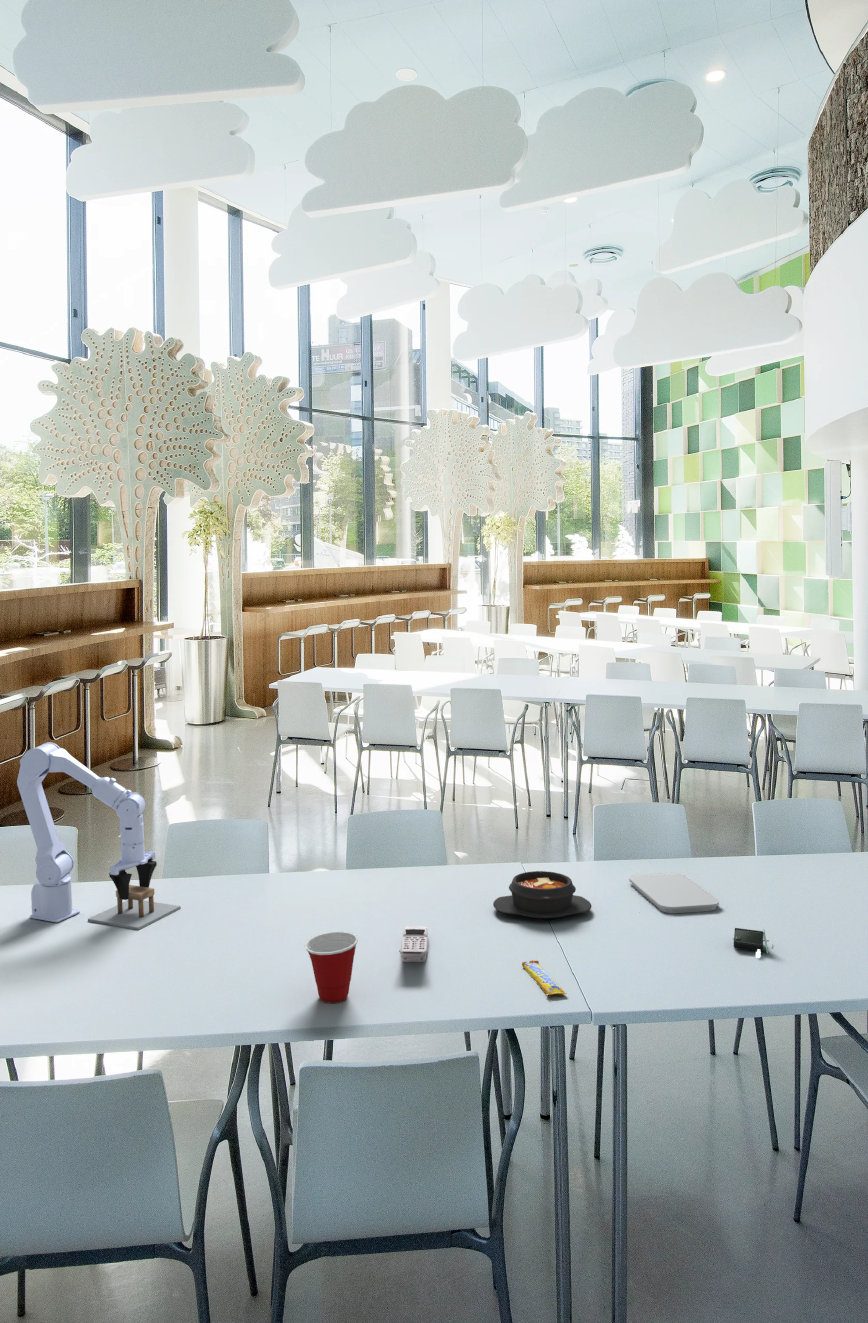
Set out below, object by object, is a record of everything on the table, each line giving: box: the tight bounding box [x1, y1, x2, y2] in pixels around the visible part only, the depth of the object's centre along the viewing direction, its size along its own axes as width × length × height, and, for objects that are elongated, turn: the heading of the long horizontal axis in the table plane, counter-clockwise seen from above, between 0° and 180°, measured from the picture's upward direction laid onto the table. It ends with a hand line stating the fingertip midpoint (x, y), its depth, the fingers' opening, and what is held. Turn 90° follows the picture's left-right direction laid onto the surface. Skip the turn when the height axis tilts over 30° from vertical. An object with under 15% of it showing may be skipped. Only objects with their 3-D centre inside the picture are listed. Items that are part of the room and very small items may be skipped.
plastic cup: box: [304, 931, 359, 1004], centre depth 187 cm, size 11×11×12 cm
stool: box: [115, 884, 155, 918], centre depth 235 cm, size 5×8×6 cm, turn 66°
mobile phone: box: [398, 926, 429, 963], centre depth 209 cm, size 6×6×25 cm
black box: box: [733, 927, 774, 959], centre depth 211 cm, size 15×15×6 cm
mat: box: [87, 899, 181, 931], centre depth 235 cm, size 16×16×1 cm
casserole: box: [492, 870, 593, 920], centre depth 235 cm, size 25×19×8 cm
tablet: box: [628, 872, 720, 914], centre depth 246 cm, size 16×26×2 cm, turn 9°
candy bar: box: [521, 960, 568, 996], centre depth 194 cm, size 17×4×2 cm, turn 14°
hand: (134, 894), depth 235 cm, fingers open, 7 cm apart
